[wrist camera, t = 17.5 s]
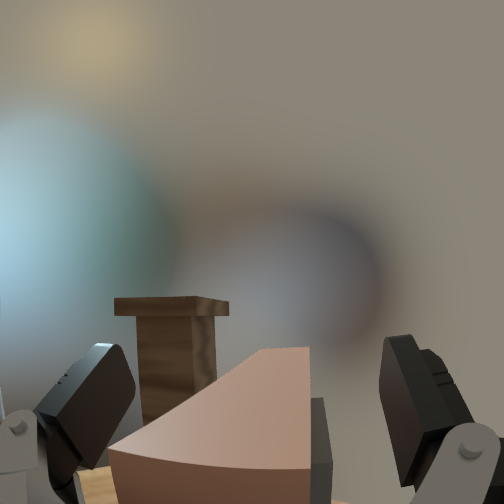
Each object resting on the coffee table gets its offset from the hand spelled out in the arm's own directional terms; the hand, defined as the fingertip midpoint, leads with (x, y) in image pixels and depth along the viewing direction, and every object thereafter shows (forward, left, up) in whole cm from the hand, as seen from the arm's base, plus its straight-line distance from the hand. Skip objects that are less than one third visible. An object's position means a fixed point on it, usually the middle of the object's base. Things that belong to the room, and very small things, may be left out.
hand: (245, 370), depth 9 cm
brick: (-5, +5, -5) cm, 9 cm away
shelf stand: (-31, +11, -26) cm, 42 cm away
